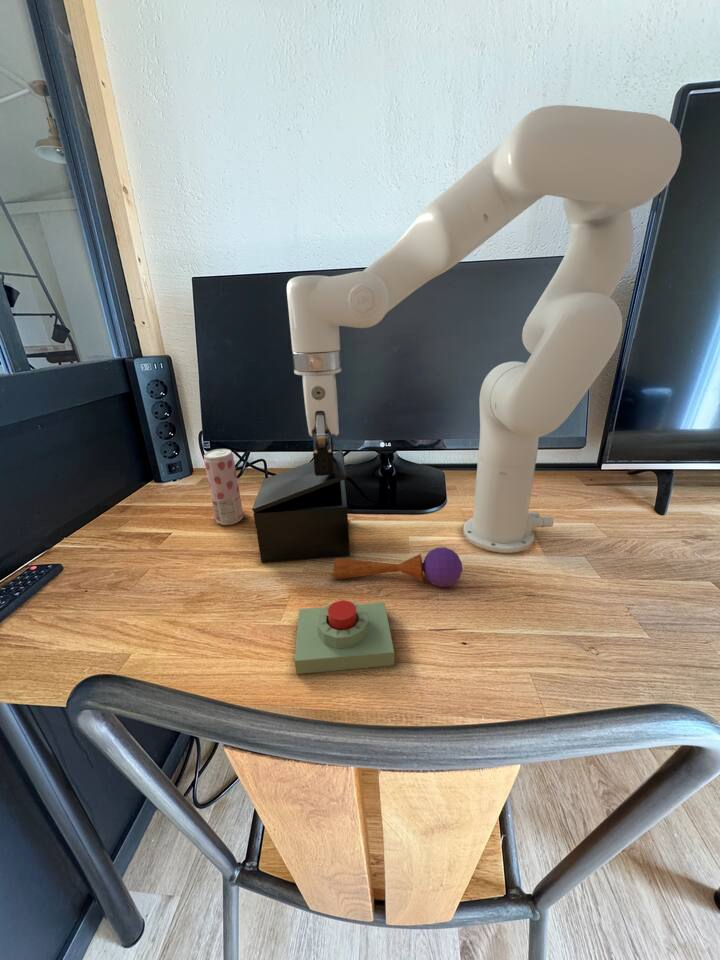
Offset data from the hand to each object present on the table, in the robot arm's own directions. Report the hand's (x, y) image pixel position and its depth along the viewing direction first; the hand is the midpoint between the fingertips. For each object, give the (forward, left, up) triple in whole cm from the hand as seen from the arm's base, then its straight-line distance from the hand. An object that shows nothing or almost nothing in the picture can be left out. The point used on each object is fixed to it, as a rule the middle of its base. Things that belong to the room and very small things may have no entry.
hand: (324, 465), depth 70 cm
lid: (+4, 0, -3) cm, 5 cm away
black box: (+4, 0, -15) cm, 16 cm away
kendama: (-11, +14, -15) cm, 23 cm away
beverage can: (+21, -11, -15) cm, 29 cm away
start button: (-2, +26, -12) cm, 28 cm away
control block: (-2, +26, -15) cm, 30 cm away
